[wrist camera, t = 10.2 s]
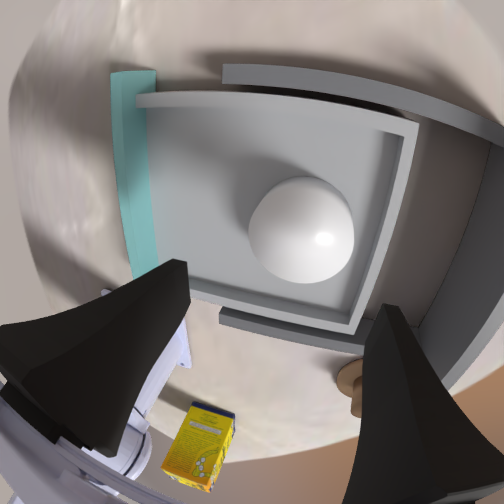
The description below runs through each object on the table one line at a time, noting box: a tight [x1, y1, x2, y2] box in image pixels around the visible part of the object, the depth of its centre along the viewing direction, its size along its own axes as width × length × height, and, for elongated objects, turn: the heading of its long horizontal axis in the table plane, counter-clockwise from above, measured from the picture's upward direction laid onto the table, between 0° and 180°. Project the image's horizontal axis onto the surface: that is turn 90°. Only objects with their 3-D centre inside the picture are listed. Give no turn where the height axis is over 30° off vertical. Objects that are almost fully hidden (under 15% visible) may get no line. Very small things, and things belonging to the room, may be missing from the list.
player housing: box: [219, 64, 504, 391], centre depth 13 cm, size 16×16×6 cm
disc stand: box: [337, 359, 363, 418], centre depth 21 cm, size 6×6×4 cm
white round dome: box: [248, 176, 354, 284], centre depth 15 cm, size 5×5×2 cm
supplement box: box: [161, 402, 235, 492], centre depth 30 cm, size 6×6×11 cm
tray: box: [110, 70, 420, 335], centre depth 16 cm, size 15×16×3 cm
